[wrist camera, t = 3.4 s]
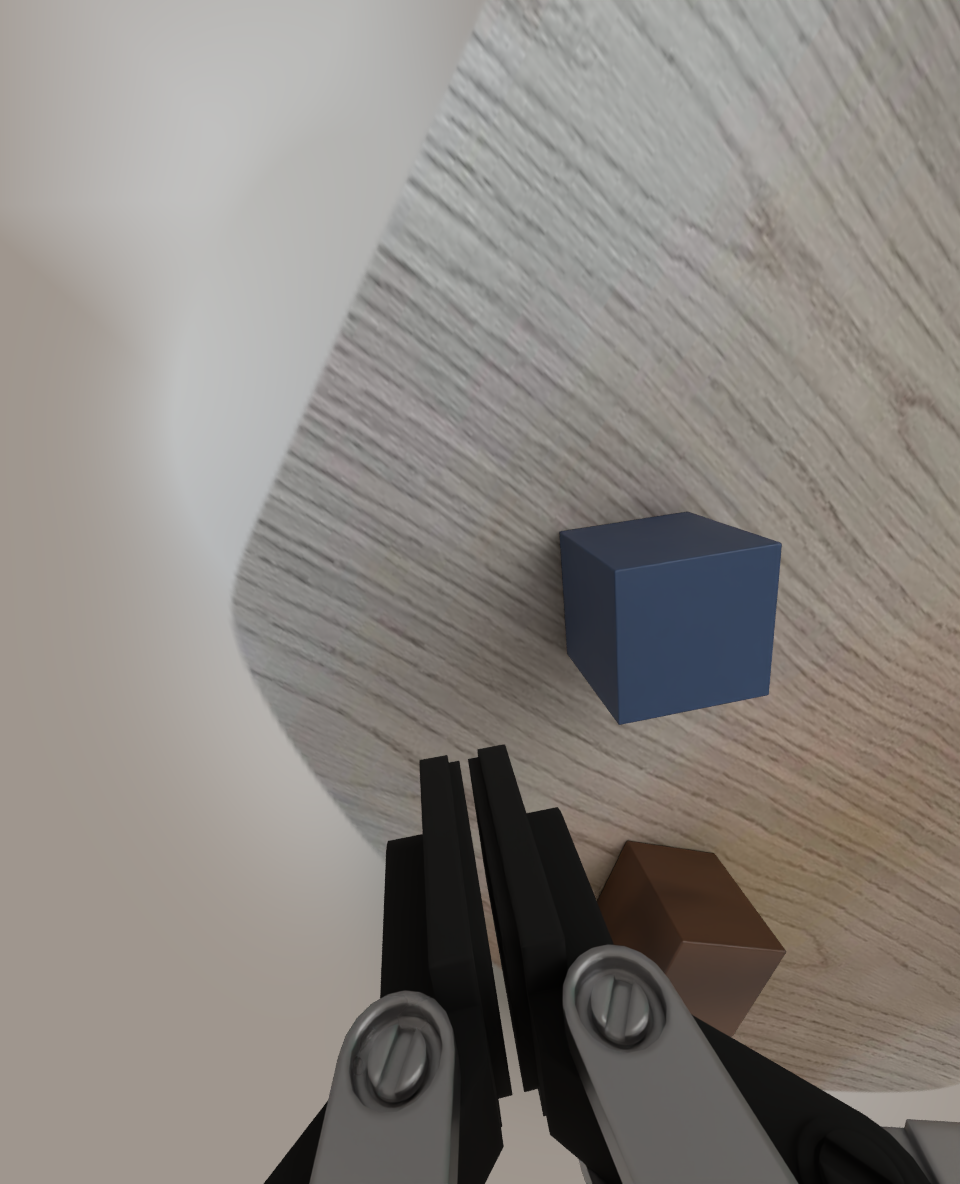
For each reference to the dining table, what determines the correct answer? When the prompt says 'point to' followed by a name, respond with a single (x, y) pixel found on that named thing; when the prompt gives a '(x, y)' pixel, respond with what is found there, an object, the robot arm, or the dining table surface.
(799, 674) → the dining table surface
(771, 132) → the dining table surface
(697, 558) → the slate block
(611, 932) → the walnut block
